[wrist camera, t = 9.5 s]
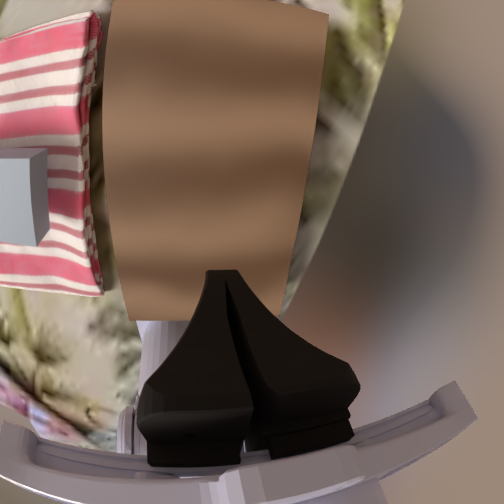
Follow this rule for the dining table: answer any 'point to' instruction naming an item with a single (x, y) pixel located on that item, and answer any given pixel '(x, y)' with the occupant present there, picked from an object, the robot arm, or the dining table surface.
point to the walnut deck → (207, 145)
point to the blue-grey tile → (23, 196)
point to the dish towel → (54, 149)
